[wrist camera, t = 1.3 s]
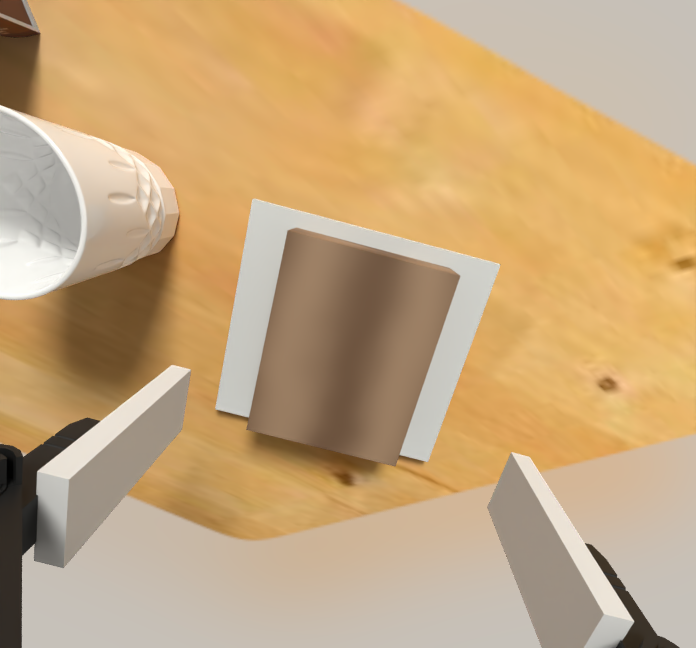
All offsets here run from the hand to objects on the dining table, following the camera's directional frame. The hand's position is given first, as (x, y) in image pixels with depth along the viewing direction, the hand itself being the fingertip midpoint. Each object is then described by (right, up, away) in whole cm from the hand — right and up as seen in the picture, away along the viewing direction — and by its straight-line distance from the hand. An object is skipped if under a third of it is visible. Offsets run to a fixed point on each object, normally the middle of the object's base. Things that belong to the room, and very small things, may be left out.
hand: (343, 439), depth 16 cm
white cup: (-14, +12, +10) cm, 21 cm away
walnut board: (0, +3, +11) cm, 12 cm away
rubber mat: (0, +4, +12) cm, 12 cm away
